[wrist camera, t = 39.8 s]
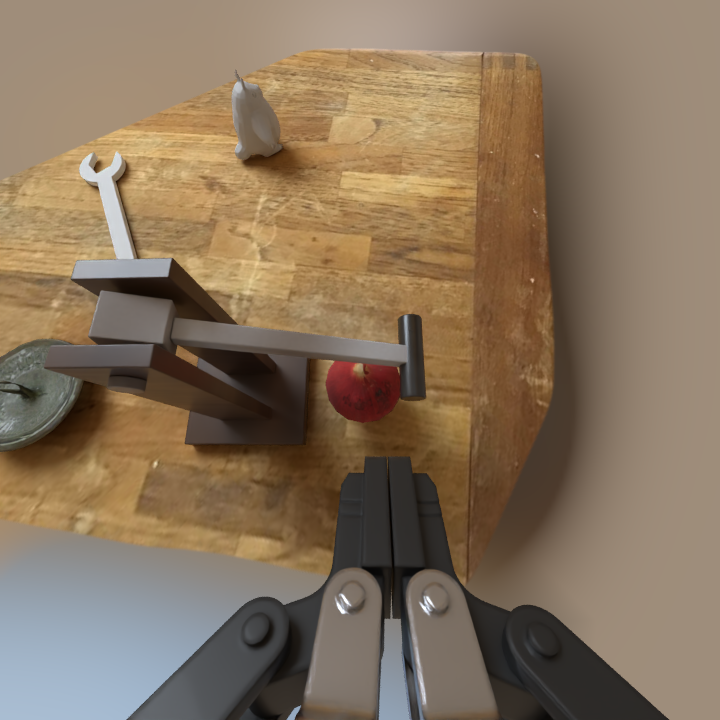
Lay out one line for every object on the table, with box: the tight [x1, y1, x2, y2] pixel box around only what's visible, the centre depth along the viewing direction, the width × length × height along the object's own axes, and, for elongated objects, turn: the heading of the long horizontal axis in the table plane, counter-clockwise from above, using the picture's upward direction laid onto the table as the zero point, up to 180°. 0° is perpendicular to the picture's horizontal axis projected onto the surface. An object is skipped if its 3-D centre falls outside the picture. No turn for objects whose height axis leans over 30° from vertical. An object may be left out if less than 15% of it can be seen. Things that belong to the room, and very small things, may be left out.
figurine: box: [232, 70, 283, 160], centre depth 35 cm, size 8×6×8 cm
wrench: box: [79, 152, 137, 259], centre depth 35 cm, size 25×1×5 cm
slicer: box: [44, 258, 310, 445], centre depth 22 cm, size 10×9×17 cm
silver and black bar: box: [88, 291, 426, 401], centre depth 17 cm, size 16×5×2 cm, turn 90°
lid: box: [0, 339, 84, 452], centre depth 29 cm, size 11×10×5 cm
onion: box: [326, 361, 400, 423], centre depth 25 cm, size 6×6×8 cm
